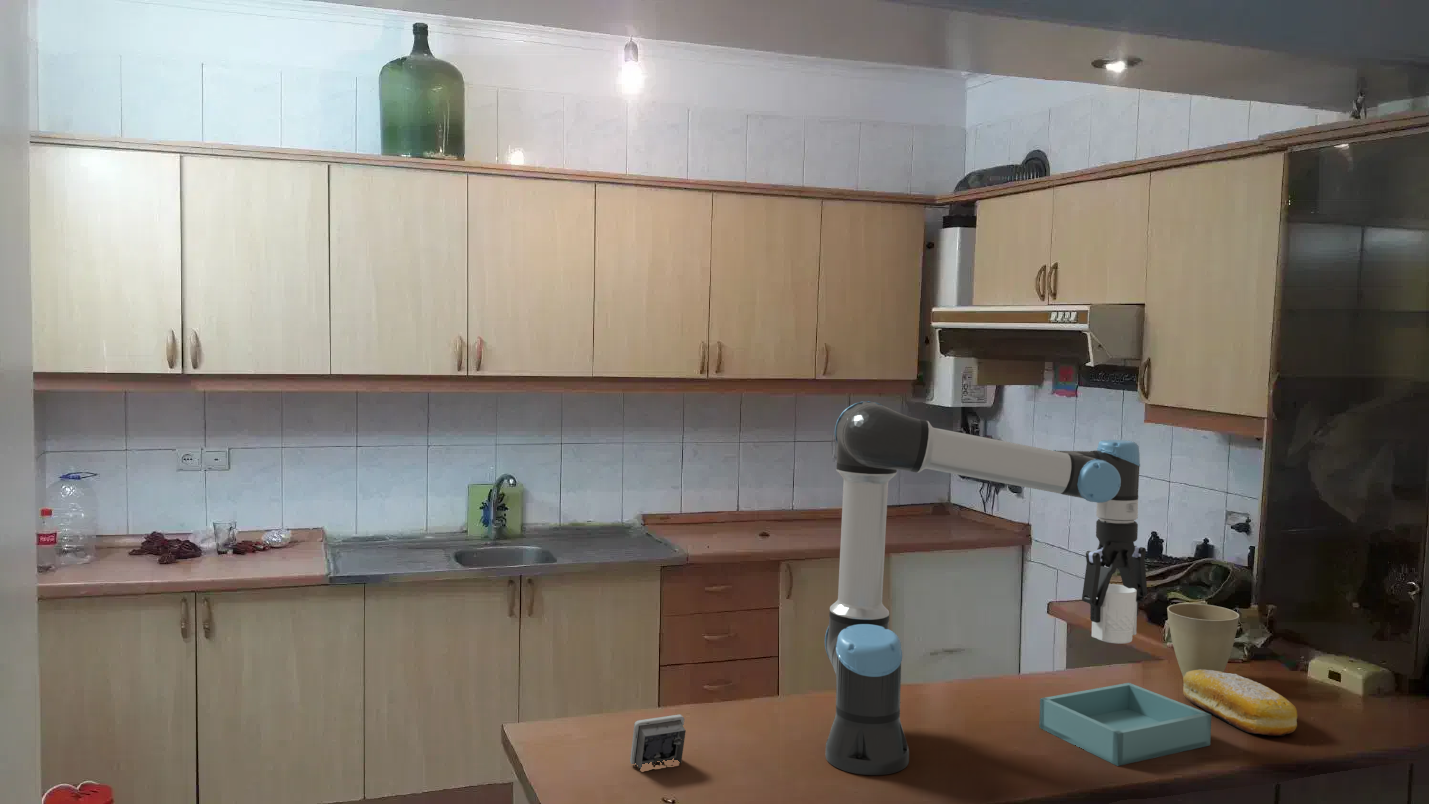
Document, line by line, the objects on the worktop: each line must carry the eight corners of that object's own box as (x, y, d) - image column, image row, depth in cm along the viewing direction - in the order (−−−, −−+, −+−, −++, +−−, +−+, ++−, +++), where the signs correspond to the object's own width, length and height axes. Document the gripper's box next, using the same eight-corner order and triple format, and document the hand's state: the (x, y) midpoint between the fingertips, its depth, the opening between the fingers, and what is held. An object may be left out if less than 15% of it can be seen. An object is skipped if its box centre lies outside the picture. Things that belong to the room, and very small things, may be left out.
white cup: (1144, 642, 198) (1146, 591, 198) (1112, 646, 195) (1114, 594, 195) (1114, 631, 206) (1115, 582, 205) (1083, 635, 203) (1084, 585, 202)
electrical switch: (677, 757, 188) (679, 709, 186) (688, 771, 183) (690, 722, 182) (629, 765, 184) (630, 716, 183) (638, 779, 179) (640, 729, 178)
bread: (1254, 744, 197) (1255, 703, 197) (1166, 697, 223) (1167, 661, 223) (1313, 738, 200) (1315, 698, 200) (1219, 693, 226) (1221, 657, 226)
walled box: (1117, 766, 186) (1118, 733, 185) (1039, 728, 204) (1040, 698, 203) (1210, 745, 196) (1211, 714, 196) (1127, 710, 214) (1128, 682, 214)
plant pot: (1183, 665, 245) (1186, 599, 244) (1248, 681, 233) (1251, 612, 232) (1152, 678, 235) (1154, 609, 234) (1218, 695, 224) (1221, 623, 223)
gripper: (1092, 526, 191) (1089, 647, 193) (1170, 519, 200) (1167, 634, 201) (1063, 520, 198) (1060, 636, 199) (1139, 513, 207) (1136, 624, 208)
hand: (1113, 635), depth 200 cm, fingers closed on white cup, 8 cm apart
